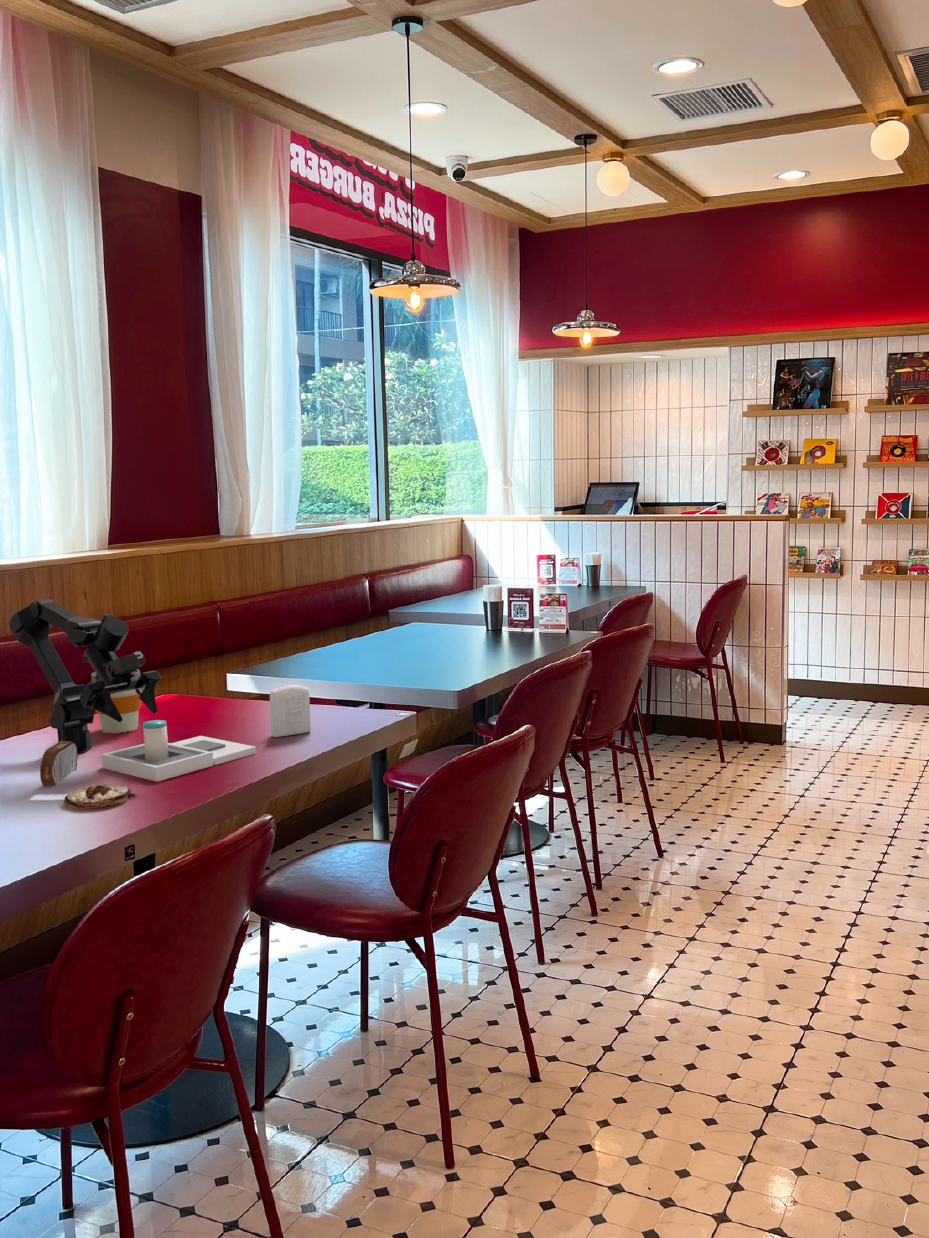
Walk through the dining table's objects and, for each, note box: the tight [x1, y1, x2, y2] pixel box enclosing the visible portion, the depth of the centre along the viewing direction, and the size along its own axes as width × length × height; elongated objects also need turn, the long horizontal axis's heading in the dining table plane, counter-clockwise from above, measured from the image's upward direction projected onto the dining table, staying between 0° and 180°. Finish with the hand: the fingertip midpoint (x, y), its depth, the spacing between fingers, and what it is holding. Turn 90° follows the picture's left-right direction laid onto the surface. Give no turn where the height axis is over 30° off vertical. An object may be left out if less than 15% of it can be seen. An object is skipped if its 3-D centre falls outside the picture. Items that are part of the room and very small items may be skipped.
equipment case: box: [100, 735, 257, 783], centre depth 251 cm, size 20×28×4 cm
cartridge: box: [142, 719, 169, 762], centre depth 246 cm, size 5×5×10 cm
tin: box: [39, 741, 78, 787], centre depth 239 cm, size 15×3×8 cm, turn 178°
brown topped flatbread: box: [63, 783, 131, 811], centre depth 225 cm, size 15×15×4 cm
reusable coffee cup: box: [90, 668, 142, 734], centre depth 287 cm, size 13×13×15 cm
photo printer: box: [269, 684, 312, 738], centre depth 277 cm, size 10×4×12 cm, turn 123°
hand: (138, 717), depth 248 cm, fingers open, 9 cm apart
